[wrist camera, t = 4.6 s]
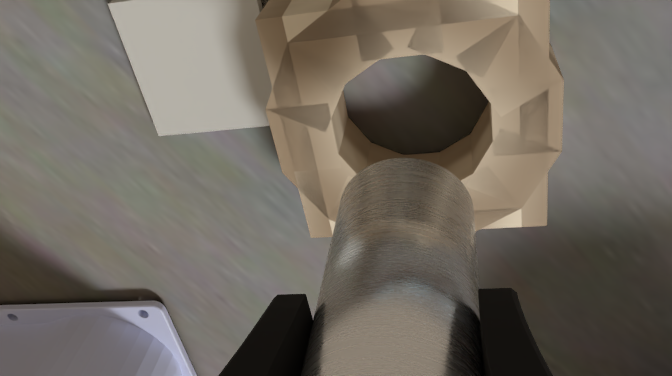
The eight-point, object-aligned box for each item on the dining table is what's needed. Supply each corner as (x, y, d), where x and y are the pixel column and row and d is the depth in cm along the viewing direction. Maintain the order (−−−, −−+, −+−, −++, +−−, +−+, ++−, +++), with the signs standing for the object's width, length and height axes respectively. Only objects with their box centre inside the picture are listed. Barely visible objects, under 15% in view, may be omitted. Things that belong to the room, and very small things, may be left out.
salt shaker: (346, 265, 17) (274, 649, 10) (328, 158, 15) (222, 539, 8) (476, 264, 16) (503, 676, 9) (475, 152, 14) (508, 563, 7)
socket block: (314, 205, 24) (302, 246, 22) (259, -19, 20) (237, 8, 17) (549, 191, 22) (559, 234, 20) (552, -62, 18) (566, -38, 16)
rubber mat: (162, 130, 23) (158, 136, 23) (113, -1, 21) (107, 3, 20) (290, 118, 22) (288, 124, 22) (255, -22, 19) (252, -18, 19)
